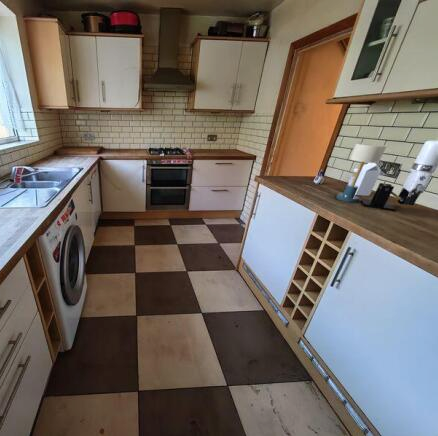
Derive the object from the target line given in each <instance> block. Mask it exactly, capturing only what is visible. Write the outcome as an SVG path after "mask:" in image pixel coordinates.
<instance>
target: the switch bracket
mask: <svg viewBox="0 0 438 436" xmlns="http://www.w3.org/2000/svg"><path fill="white" fill-rule="evenodd" d="M384 184H385V185H384ZM380 187H381V188H380ZM394 188H395V186H394V185H392V184H391V183H383V182H379V184H378V186H377V188H376V190H375V192H374V194H373V196H372V199H371V200H369V199H363V198H362V199H360V200H359V201H360V203H361V205H362V206H363V207H367V208H372V209H378V210H383V211H390V212H395V211H396V208H394V206H393V205H392V204H391V203H387V202H388V200H389V198H390V196H391V195H392V194H391V192H393V191H394Z"/></svg>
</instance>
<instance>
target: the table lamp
mask: <svg viewBox="0 0 438 436" xmlns="http://www.w3.org/2000/svg"><path fill="white" fill-rule="evenodd" d="M386 148H387V145H384V144H378V143H367V142H366V143H365V142H356V143H355V144H354V146H353V149H352V151H351V154H350V156H349V160H351V161H356V162H360V164H359V166H358V171H357V173H356V175H355V178H354V180H353V182H352V185H348V184H346V186H345V188H344V191H343V192H340V193H339V192H338V193H337V194H336V196H335V198H336V199H337V200H339V201H342V202H347V203H359V201H360V200H361V199H360V197H359V195H355V193H356V191H357V189H358V186H356V185H355V183H356V181H357V179H358V176H359V174H360V172H361V170H362V167H363V166H364V165H365V163H376V164H377V163H380V161H381V159H382V157H383V154H384V152H385V151H386Z"/></svg>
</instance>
